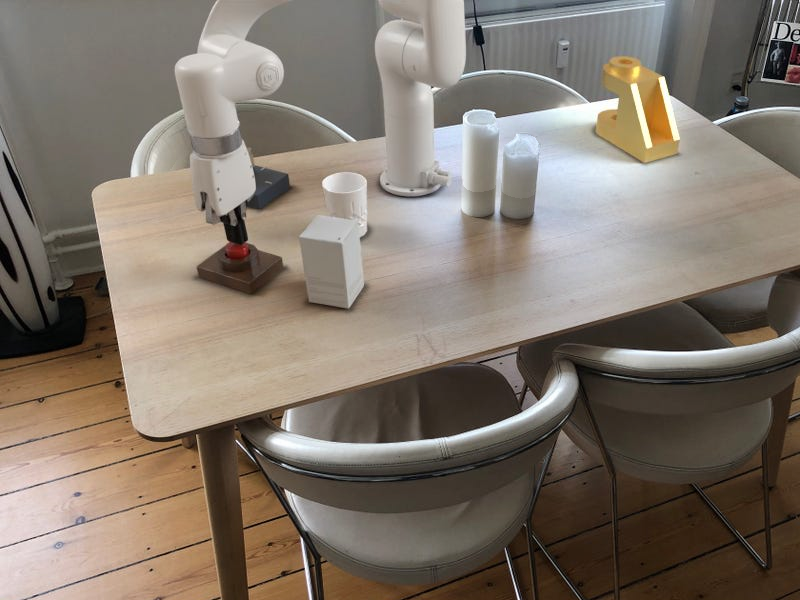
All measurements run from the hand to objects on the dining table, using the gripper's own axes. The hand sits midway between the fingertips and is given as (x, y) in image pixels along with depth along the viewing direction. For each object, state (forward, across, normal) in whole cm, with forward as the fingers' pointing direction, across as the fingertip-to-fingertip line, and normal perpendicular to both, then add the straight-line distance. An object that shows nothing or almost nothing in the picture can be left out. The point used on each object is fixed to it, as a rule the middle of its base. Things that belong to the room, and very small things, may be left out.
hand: (237, 240), depth 139 cm
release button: (+2, +1, 0) cm, 2 cm away
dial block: (+6, -23, -16) cm, 29 cm away
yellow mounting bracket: (+8, -81, +44) cm, 93 cm away
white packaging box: (+6, -1, +18) cm, 19 cm away
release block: (+6, +1, 0) cm, 6 cm away
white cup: (+7, -19, +9) cm, 22 cm away
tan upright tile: (+3, -23, -16) cm, 29 cm away
